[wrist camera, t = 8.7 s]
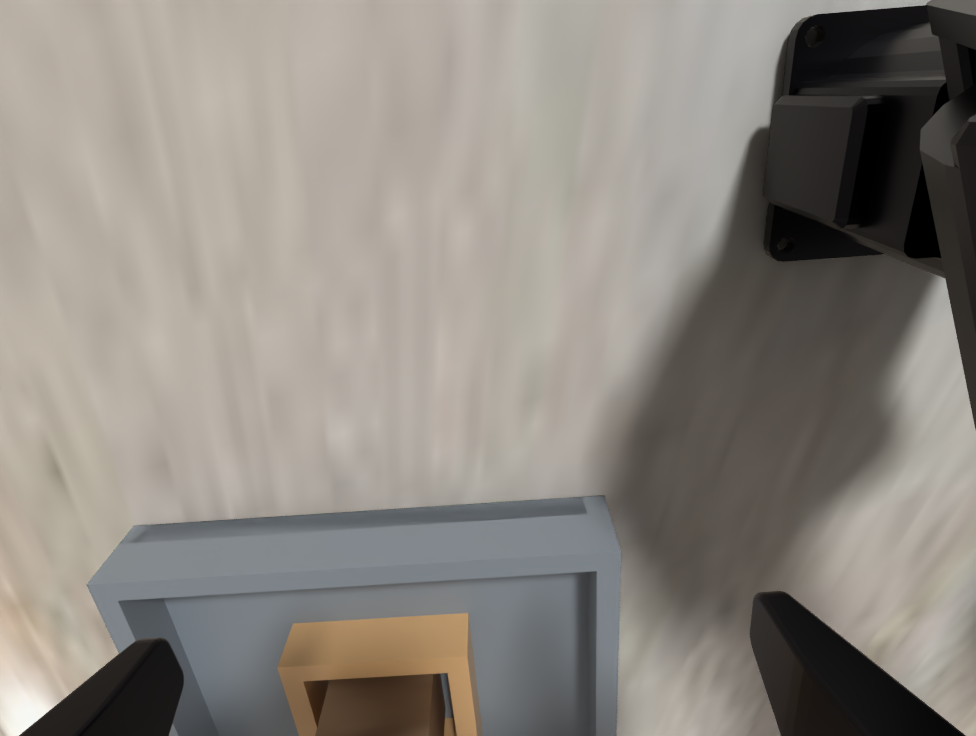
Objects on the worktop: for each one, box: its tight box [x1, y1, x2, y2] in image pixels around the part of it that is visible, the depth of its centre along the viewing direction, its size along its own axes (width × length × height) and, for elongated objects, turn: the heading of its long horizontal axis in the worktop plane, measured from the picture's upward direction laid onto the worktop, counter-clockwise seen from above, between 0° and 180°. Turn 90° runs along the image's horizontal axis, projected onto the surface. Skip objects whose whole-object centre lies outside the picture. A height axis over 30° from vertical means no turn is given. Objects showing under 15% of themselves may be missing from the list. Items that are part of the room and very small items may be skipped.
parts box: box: [87, 496, 621, 736], centre depth 25 cm, size 18×16×3 cm
